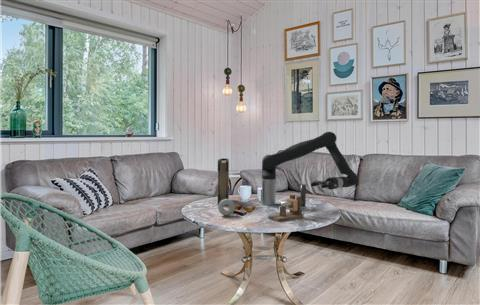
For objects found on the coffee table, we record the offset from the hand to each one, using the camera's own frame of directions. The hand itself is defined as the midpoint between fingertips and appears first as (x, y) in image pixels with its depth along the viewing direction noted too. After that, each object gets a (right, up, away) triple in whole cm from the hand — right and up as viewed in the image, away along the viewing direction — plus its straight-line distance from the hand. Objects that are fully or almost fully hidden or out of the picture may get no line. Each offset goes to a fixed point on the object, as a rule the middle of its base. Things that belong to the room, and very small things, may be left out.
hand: (316, 185), depth 218 cm
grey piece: (-16, -12, -10) cm, 22 cm away
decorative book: (-58, -14, +30) cm, 67 cm away
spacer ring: (-17, -13, -11) cm, 24 cm away
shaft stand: (-20, -17, -13) cm, 30 cm away
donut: (-54, -17, -9) cm, 58 cm away
